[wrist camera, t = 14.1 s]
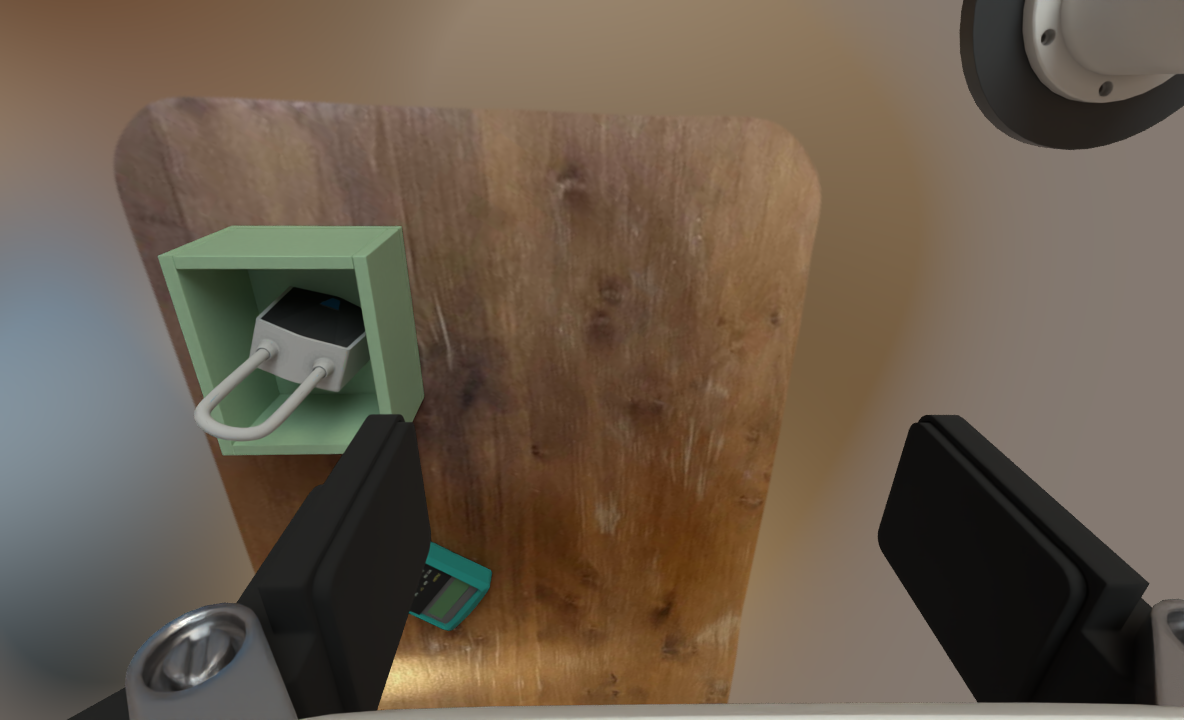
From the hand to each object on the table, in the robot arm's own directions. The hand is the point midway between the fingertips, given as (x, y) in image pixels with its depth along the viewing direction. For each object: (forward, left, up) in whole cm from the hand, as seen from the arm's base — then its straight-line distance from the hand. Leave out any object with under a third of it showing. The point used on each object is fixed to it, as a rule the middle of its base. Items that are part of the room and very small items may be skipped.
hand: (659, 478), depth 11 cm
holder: (+21, -2, -31) cm, 38 cm away
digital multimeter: (+31, +20, -32) cm, 49 cm away
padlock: (+21, -2, -31) cm, 37 cm away
